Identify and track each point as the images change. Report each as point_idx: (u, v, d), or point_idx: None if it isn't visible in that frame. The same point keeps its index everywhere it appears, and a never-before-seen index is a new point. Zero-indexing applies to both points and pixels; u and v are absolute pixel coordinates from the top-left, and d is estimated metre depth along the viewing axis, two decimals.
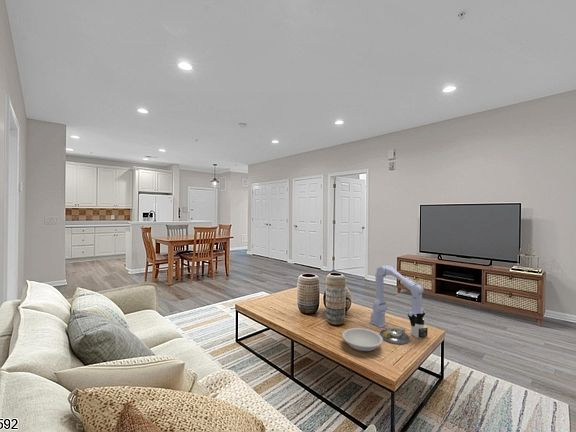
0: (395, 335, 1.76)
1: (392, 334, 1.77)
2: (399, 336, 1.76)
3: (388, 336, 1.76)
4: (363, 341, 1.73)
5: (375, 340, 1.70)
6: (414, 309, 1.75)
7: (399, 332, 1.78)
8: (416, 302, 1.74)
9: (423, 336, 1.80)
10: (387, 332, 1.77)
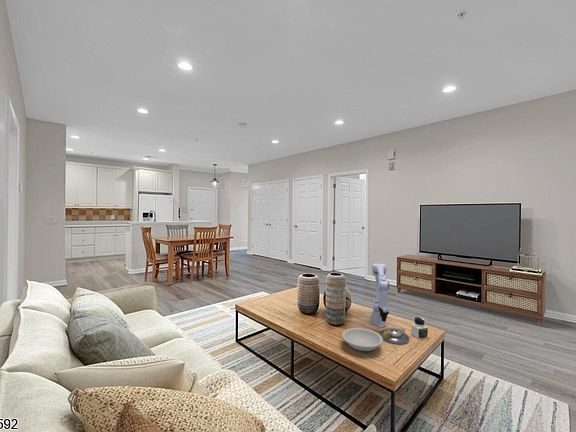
0: (395, 335, 1.76)
1: (392, 334, 1.77)
2: (399, 336, 1.76)
3: (388, 336, 1.76)
4: (363, 341, 1.73)
5: (375, 340, 1.70)
6: None
7: (399, 332, 1.78)
8: (379, 296, 1.84)
9: (423, 336, 1.80)
10: (387, 332, 1.77)
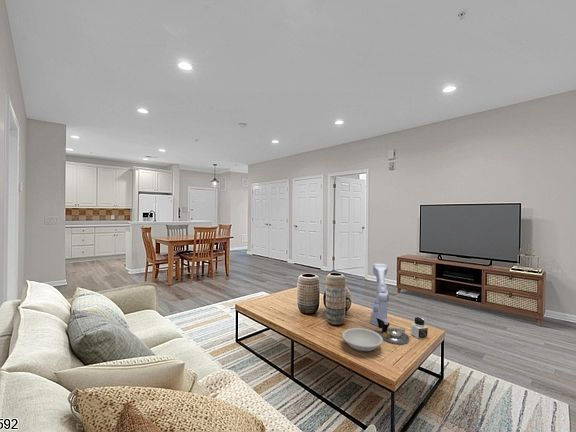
0: (395, 335, 1.76)
1: (392, 334, 1.77)
2: (399, 336, 1.76)
3: (388, 336, 1.76)
4: (363, 341, 1.73)
5: (375, 340, 1.70)
6: None
7: (399, 332, 1.78)
8: (379, 308, 1.83)
9: (423, 336, 1.80)
10: (387, 332, 1.77)
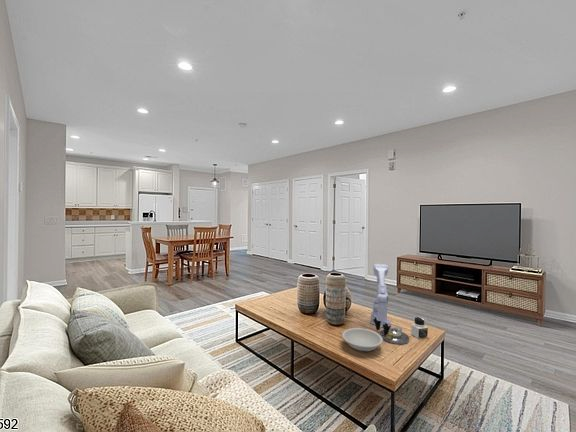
0: (397, 335, 1.76)
1: (394, 334, 1.76)
2: (400, 335, 1.77)
3: (391, 337, 1.75)
4: (363, 341, 1.73)
5: (375, 340, 1.70)
6: None
7: (399, 331, 1.79)
8: (378, 309, 1.80)
9: (423, 336, 1.80)
10: (390, 333, 1.76)
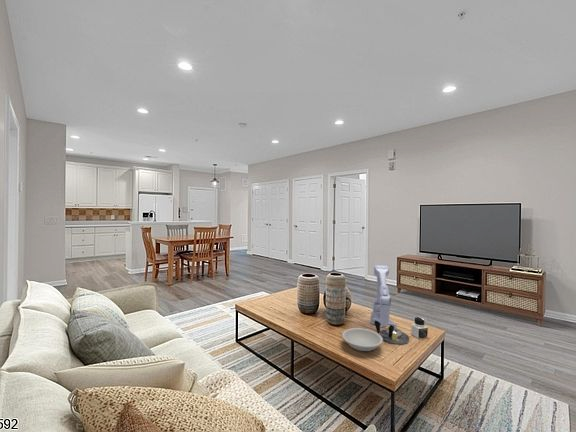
0: (400, 335, 1.77)
1: (398, 335, 1.76)
2: (401, 334, 1.79)
3: (397, 338, 1.74)
4: (363, 341, 1.73)
5: (375, 340, 1.70)
6: None
7: (399, 330, 1.80)
8: (381, 312, 1.77)
9: (423, 336, 1.80)
10: (395, 334, 1.74)
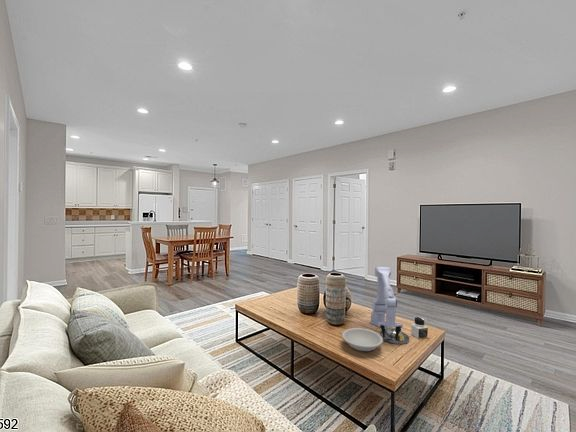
0: (401, 333, 1.79)
1: None
2: None
3: None
4: (363, 341, 1.73)
5: (375, 340, 1.70)
6: None
7: None
8: (387, 314, 1.73)
9: (423, 336, 1.80)
10: (400, 334, 1.74)
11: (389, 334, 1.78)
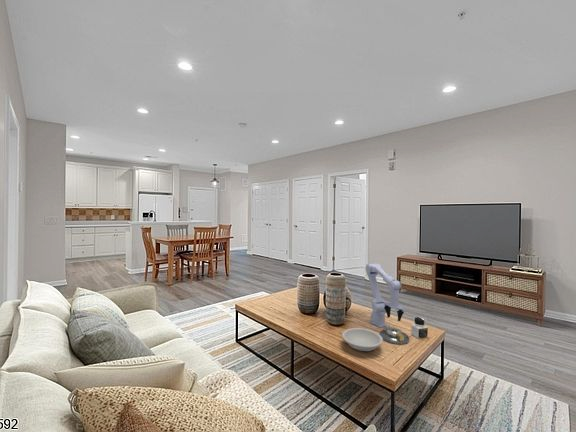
0: (401, 333, 1.79)
1: None
2: None
3: None
4: (363, 341, 1.73)
5: (375, 340, 1.70)
6: None
7: (397, 329, 1.82)
8: (392, 297, 1.83)
9: (423, 336, 1.80)
10: (400, 334, 1.74)
11: (389, 334, 1.78)
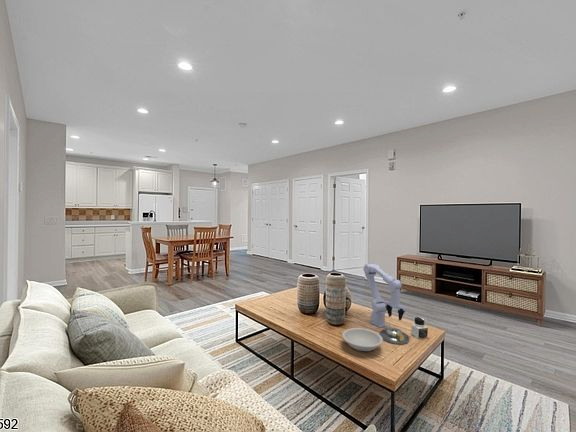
0: (401, 333, 1.79)
1: None
2: None
3: None
4: (363, 341, 1.73)
5: (375, 340, 1.70)
6: None
7: (397, 329, 1.82)
8: (393, 296, 1.84)
9: (423, 336, 1.80)
10: (400, 334, 1.74)
11: (389, 334, 1.78)
